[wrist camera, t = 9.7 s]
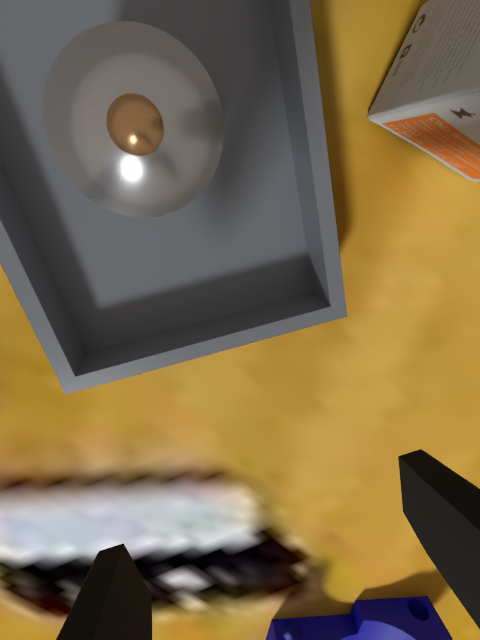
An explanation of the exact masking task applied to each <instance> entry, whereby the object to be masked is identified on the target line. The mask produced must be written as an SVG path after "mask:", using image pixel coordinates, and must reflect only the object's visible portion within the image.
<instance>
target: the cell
mask: <svg viewBox="0 0 480 640" xmlns="http://www.w3.org/2000/svg"><path fill="white" fill-rule="evenodd" d="M43 116H44V125H45V130H46V135H47V138H48V141H49V144H50V147H51V150H52V152H53V154H54V157H55V159H56V161H57V162H58V164H59V166H60V167H61V169H62V171H63V172H64V174H65V175H66V176H67V177H68V179H69V180H70V181H71V183H72V184H73V185H74V186H75V187H76V188H77V189H78V190H79V191H80V192H81V193H83V194H84V195H85V196H86V197H88V198H89V199H90V200H92V201H93V202H95V203H96V204H98V205H99V206H101V207H103V208H105V209H108V210H110V211H112V212H115V213H118V214H121V215H126V216H130V217H140V218H148V217H157V216H163V215H166V214H169V213H172V212H175V211H177V210H179V209H181V208H183V207H185V206H186V205H187V204H189V203H190V202H192V201H193V200H194V199H195V198H196V197H197V196H199V195H200V194H201V192H202V191H203V190H204V189H205V188H206V186H207V185H208V183H209V182H210V180H211V179H212V177H213V175H214V173H215V171H216V169H217V167H218V163H219V160H220V157H221V153H222V148H223V140H224V120H223V114H222V107H221V104H220V100H219V97H218V94H217V91H216V89H215V86H214V84H213V82H212V80H211V78H210V76H209V74H208V73H207V71H206V69H205V68H204V67H203V65H202V64H201V62H200V61H199V60H198V58H197V57H196V56H195V55H194V54H193V53H192V52H191V51H190V50H189V49H188V48H187V47H186V46H185V45H184V44H182V43H181V42H180V41H179V40H177V39H176V38H174V37H173V36H171V35H170V34H168V33H166V32H164V31H162V30H160V29H158V28H156V27H153V26H150V25H147V24H144V23H138V22H133V21H114V22H107V23H103V24H100V25H97V26H93V27H91V28H89V29H87V30H85V31H83V32H82V33H80V34H79V35H78V36H76V37H75V38H74V39H72V40H71V41H70V42H69V43H68V44H67V45H66V46H65V47H64V48H63V50H62V51H61V53H60V54H59V55H58V57H57V58H56V60H55V62H54V64H53V66H52V68H51V70H50V72H49V75H48V79H47V82H46V86H45V91H44V99H43Z"/></svg>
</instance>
